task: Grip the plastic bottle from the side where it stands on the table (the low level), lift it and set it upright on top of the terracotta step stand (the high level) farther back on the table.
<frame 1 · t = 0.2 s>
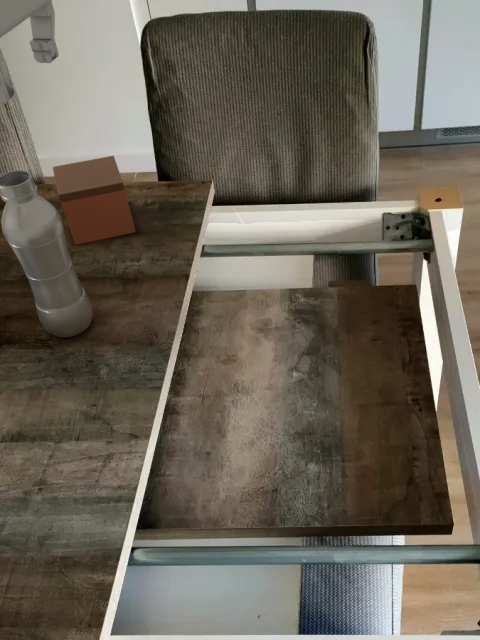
hand: (26, 79, 59), 31 cm above the table, tool pointing down, fingers open, 8 cm apart
plastic bottle: (72, 328, 84), on the table
step stand: (102, 223, 101), on the table
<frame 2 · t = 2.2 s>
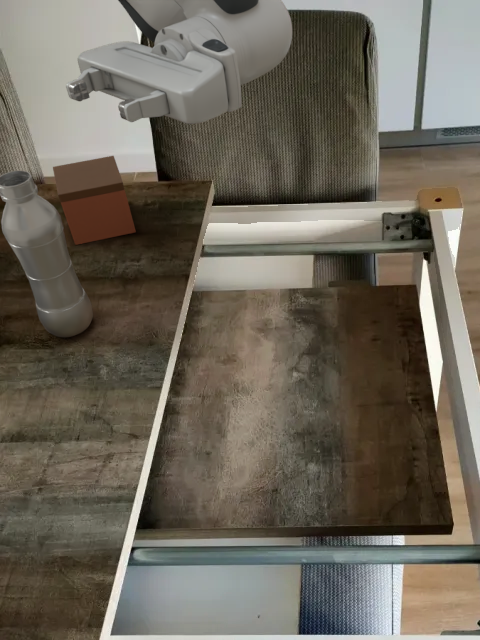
hand: (96, 103, 72), 24 cm above the table, tool horizontal, fingers open, 8 cm apart
nothing on the table moved.
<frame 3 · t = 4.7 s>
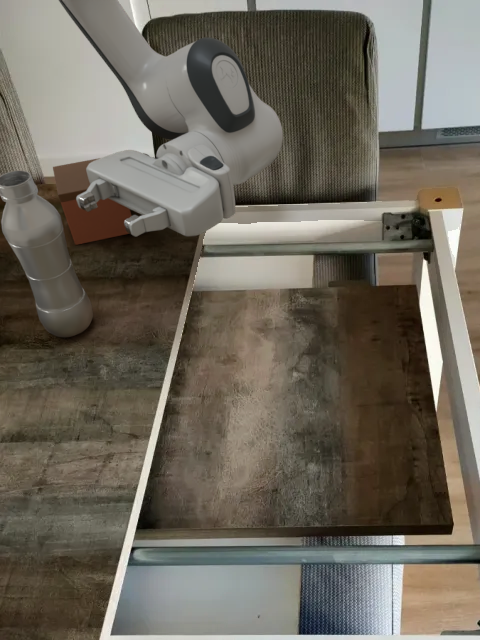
hand: (104, 216, 80), 11 cm above the table, tool horizontal, fingers open, 8 cm apart
nothing on the table moved.
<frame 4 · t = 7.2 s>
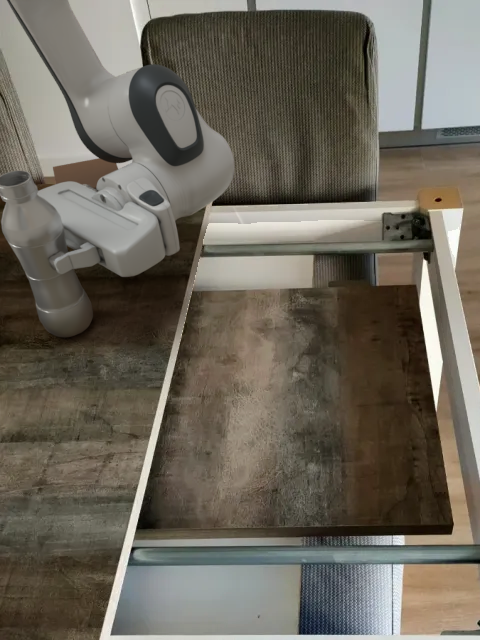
hand: (35, 256, 75), 11 cm above the table, tool horizontal, fingers closed on plastic bottle, 6 cm apart
plastic bottle: (72, 328, 84), on the table, touching gripper
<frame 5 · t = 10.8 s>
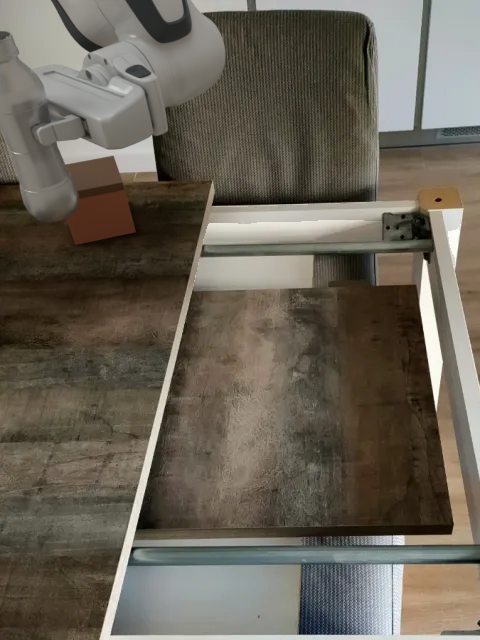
hand: (18, 128, 73), 22 cm above the table, tool horizontal, fingers closed on plastic bottle, 6 cm apart
plastic bottle: (58, 216, 82), point 11 cm above the table, touching gripper
when the fingers open (19 cm above the table, at t = 14.6 s): plastic bottle stays where it is, resting on step stand.
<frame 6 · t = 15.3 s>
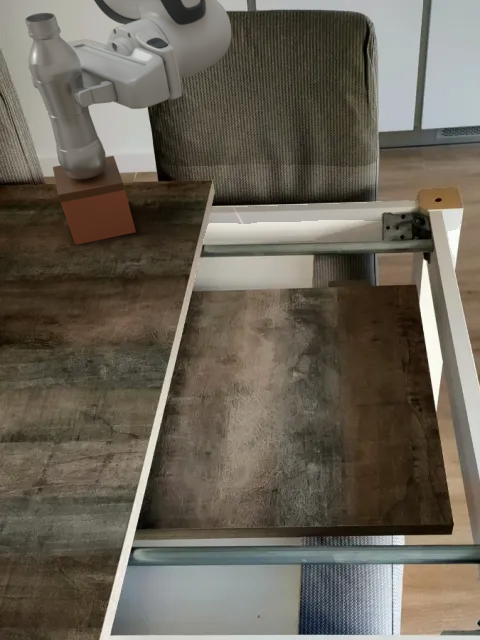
hand: (55, 91, 86), 20 cm above the table, tool horizontal, fingers open, 8 cm apart
plastic bottle: (87, 175, 95), point 8 cm above the table, touching step stand
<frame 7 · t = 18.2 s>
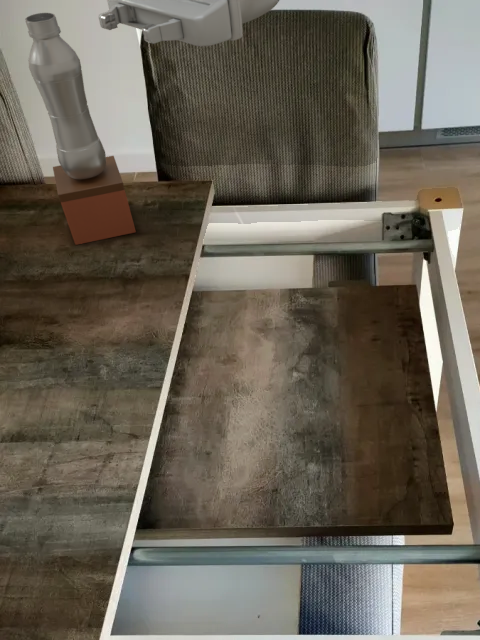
hand: (124, 29, 89), 24 cm above the table, tool horizontal, fingers open, 8 cm apart
nothing on the table moved.
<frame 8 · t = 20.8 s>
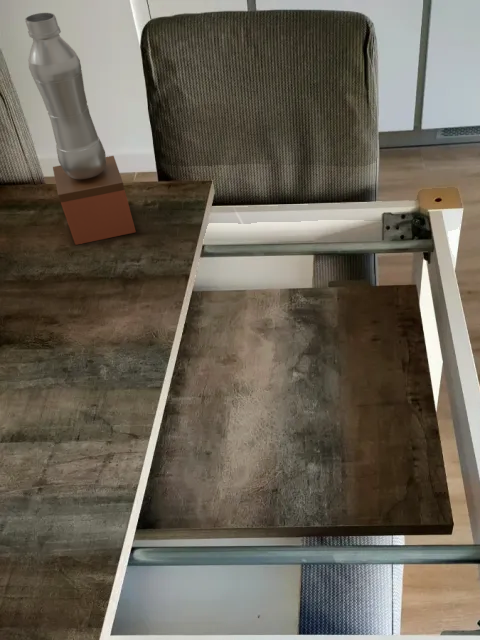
nothing on the table moved.
at the end: plastic bottle inside the target area on the step stand (0.1 cm from its centre), point 7.8 cm above the step stand's base; plastic bottle tilted 0°; the gripper is holding nothing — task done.
